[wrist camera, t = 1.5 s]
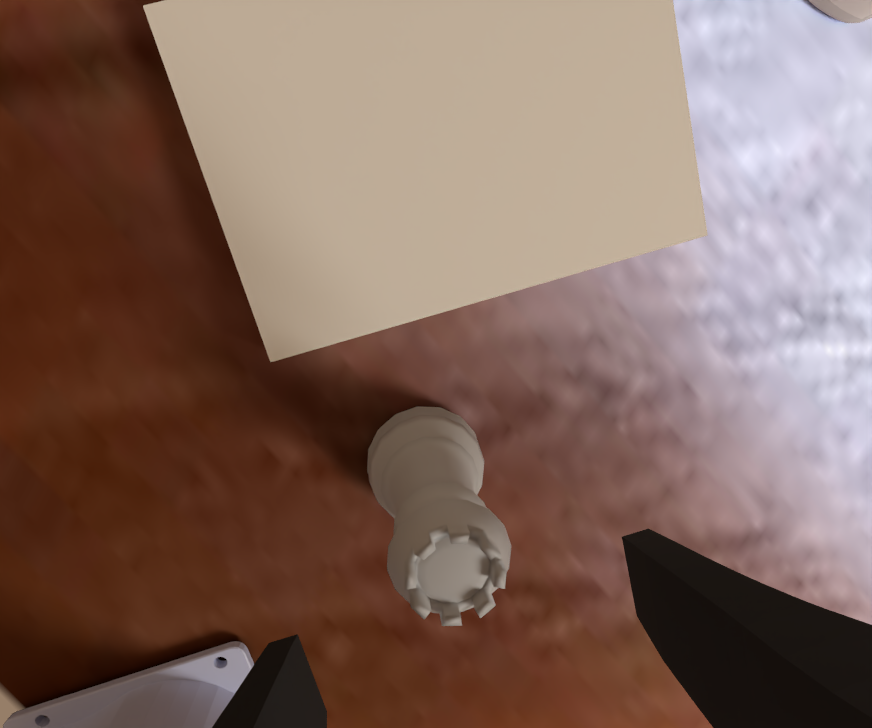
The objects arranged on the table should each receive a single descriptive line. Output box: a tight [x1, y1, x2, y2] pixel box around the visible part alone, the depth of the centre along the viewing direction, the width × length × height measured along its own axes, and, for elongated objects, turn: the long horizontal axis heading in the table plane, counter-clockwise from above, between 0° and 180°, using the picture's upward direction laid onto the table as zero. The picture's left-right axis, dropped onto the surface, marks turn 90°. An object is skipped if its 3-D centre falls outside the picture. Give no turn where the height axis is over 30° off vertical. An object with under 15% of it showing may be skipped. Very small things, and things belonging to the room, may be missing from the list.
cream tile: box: [143, 0, 707, 362], centre depth 17 cm, size 16×11×2 cm
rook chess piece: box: [367, 406, 511, 626], centre depth 16 cm, size 4×4×8 cm
